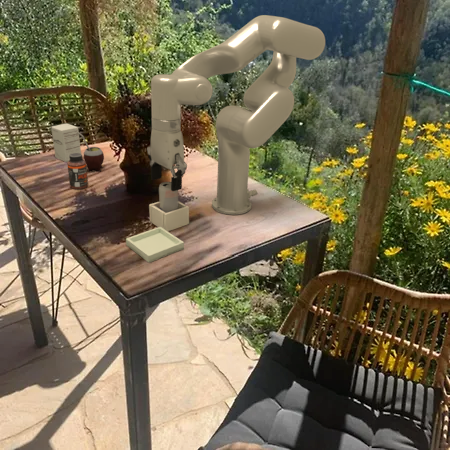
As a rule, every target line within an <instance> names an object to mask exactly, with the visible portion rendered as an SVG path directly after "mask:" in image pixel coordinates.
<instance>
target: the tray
mask: <svg viewBox="0 0 450 450" xmlns="http://www.w3.org/2000/svg"><path fill="white" fill-rule="evenodd" d="M125 244H126V246H127V247H128V248H129V249H131V250H132V251H133V252H134V253H136V254H137V255H139V257H140V258H142V259H143V260H145V261H146V262H147V263H149V264H150V263H152V262H154V261H157V260H160V259H162V258H165V257H168V256H169V255H172V254H174V253H177V252H179V251H182V250H184V249H185V242H184V241H183V240H181V239H180V238H178V237H176V235H174V234H172V233H171V232H170V231H166V230H165V229H163V228H162V227H156V228H153V229H149V230H147V231H144V232H141V233H138V234H134V235H133V236H129V237H127V238H125Z"/></svg>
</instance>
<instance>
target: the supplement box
mask: <svg viewBox="0 0 450 450" xmlns="http://www.w3.org/2000/svg"><path fill="white" fill-rule="evenodd" d="M75 131H77V132H79V127H78V126H76V125H73V124H70V123H61V124H58V125H52V126H51V134H52V135H51V136H52V141H53V149H54V155H55V159H58V160H61V161H63V162H65V163H68V161H69V160H70V157H69V155H70V154H73V153H80V154H82V151H81V141H80V135H79V134H78V133H77V132H75ZM79 133H80V132H79Z"/></svg>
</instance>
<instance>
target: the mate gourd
mask: <svg viewBox="0 0 450 450" xmlns="http://www.w3.org/2000/svg"><path fill="white" fill-rule="evenodd" d="M75 132H77V131H75ZM77 133H78V134H79V136H80V137H81V138H82V140H83V141H84V144H85V145H86V147H87V148H85V150H84V152H83V160H84V161H85V162H86V169H87V173H91V172H94V171H96V172H98V173H101V172H102V169H103V163H104V160H105V155H104V152H103V150H102V149H101V148H100V147H97V146H89V145H88V143H87V141H86V138H85V136H84V135H83V134H82V133H80V132H77Z"/></svg>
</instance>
